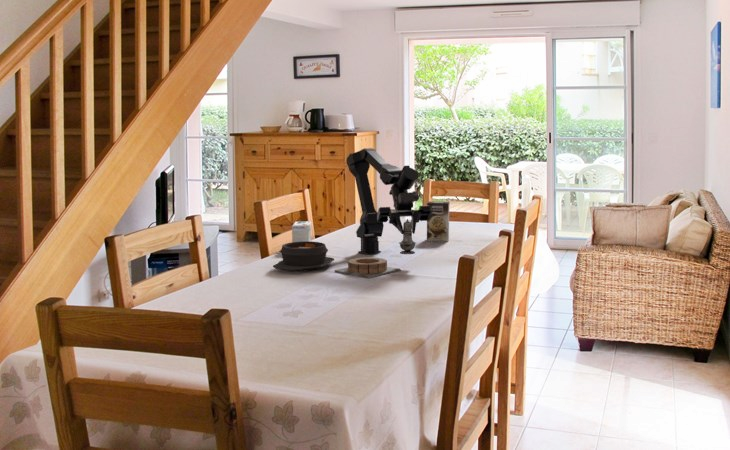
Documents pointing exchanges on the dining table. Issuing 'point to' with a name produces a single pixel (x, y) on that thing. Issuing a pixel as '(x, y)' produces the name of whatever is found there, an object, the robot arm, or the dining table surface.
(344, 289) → the dining table surface
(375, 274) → the walnut collar
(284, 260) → the casserole
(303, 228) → the light bulb box
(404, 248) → the salt shaker
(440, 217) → the coffee box
